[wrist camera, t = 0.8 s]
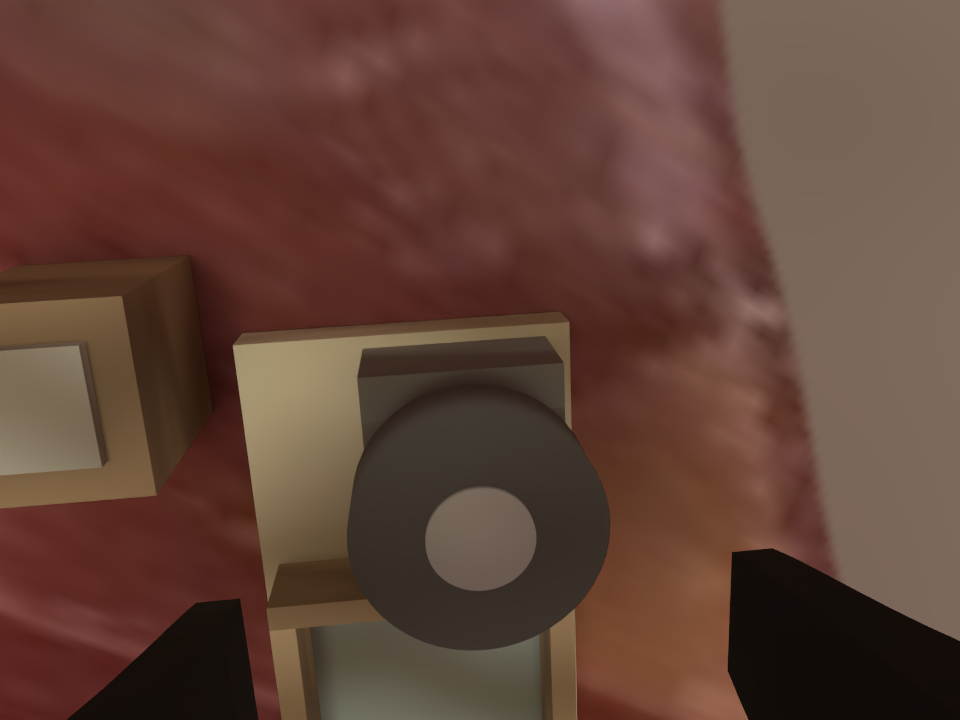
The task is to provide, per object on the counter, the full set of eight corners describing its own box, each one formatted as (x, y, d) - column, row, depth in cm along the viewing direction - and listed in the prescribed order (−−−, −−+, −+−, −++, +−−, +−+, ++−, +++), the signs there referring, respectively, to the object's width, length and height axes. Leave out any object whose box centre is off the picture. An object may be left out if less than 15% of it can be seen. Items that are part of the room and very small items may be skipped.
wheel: (571, 541, 19) (613, 644, 15) (367, 559, 19) (358, 669, 15) (567, 346, 18) (612, 404, 14) (348, 361, 18) (333, 426, 14)
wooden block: (213, 410, 21) (151, 502, 16) (51, 423, 21) (-64, 520, 15) (190, 255, 20) (116, 299, 15) (18, 265, 19) (-118, 314, 14)
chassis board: (569, 734, 24) (597, 834, 21) (300, 764, 24) (282, 871, 20) (560, 311, 21) (591, 347, 17) (242, 333, 20) (209, 374, 17)
